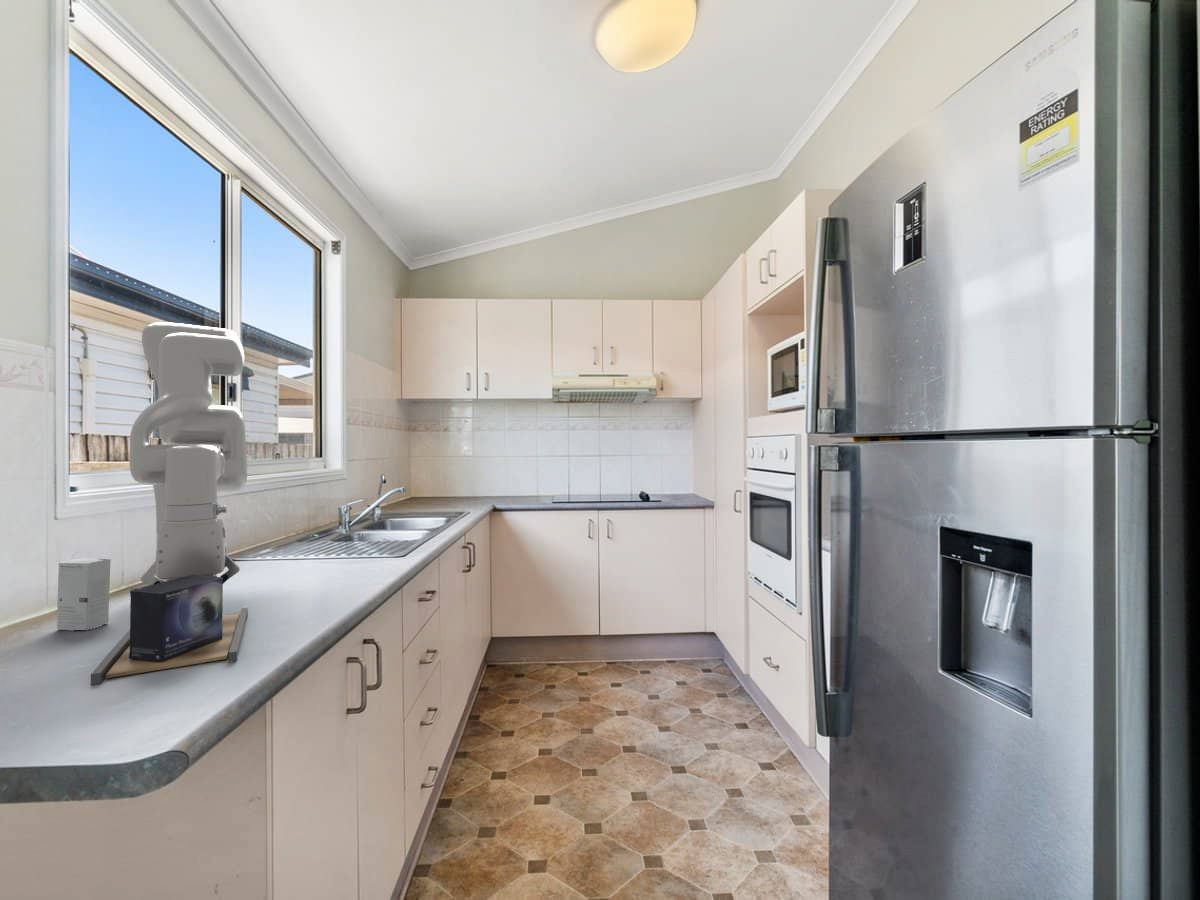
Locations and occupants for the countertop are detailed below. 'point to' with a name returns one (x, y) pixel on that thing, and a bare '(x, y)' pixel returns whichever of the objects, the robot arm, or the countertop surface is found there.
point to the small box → (175, 617)
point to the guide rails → (124, 643)
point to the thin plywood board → (199, 655)
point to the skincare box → (83, 593)
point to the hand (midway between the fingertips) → (192, 613)
